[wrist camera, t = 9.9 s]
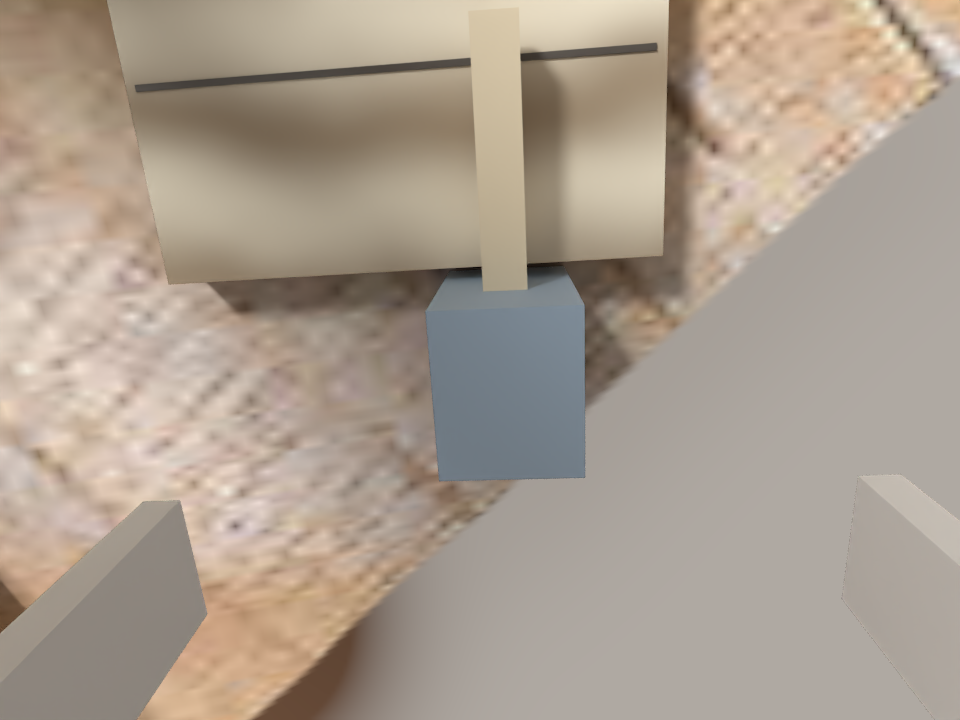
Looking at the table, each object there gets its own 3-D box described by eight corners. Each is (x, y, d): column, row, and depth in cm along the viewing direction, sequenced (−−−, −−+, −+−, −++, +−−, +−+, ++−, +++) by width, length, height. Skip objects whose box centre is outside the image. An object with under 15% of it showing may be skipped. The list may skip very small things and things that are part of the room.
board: (136, -30, 24) (93, -53, 22) (654, -79, 23) (671, -109, 20) (198, 274, 28) (167, 284, 25) (649, 247, 26) (663, 256, 24)
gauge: (434, 45, 24) (399, -11, 17) (560, 36, 24) (583, -25, 16) (458, 398, 29) (439, 481, 21) (565, 395, 28) (585, 477, 21)
